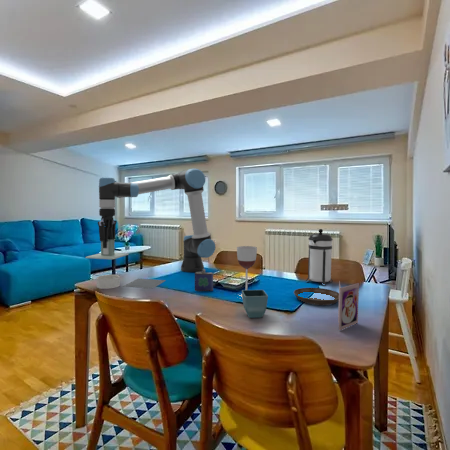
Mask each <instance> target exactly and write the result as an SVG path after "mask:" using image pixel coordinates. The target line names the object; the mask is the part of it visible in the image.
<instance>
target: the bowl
mask: <svg viewBox="0 0 450 450" xmlns="http://www.w3.org/2000/svg"><path fill="white" fill-rule="evenodd" d="M120 279H121V277H120V275H118V274H105V275H99V276H96V288H97V289H100V290H101V289H102V290H103V289H104V290H107V289H109V290H111V289H116V288H118V287H120V286H121V280H120Z"/></svg>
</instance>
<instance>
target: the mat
mask: <svg viewBox="0 0 450 450" xmlns="http://www.w3.org/2000/svg"><path fill="white" fill-rule="evenodd" d="M166 281H167V280H166V279H151V278H149V279H148V278H137V279H134V280H133V281H131V282H129V283H126V284H124V285H123V286H122V287H126V288H142V289H155V288H156V287H157V286H160V285H161V284H163V283H164V282H166Z"/></svg>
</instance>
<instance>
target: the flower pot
mask: <svg viewBox="0 0 450 450" xmlns="http://www.w3.org/2000/svg"><path fill="white" fill-rule="evenodd" d="M241 294H242V299H241V300H242V304H243V308H244V310H245V313H246V315H247V317H248V318H250V319H251V318H253V319H254V318H263V316H264V315H265V313H266V311H267V305H268V298H269V295H268V294H267V292H266V291H265V290H264V289H247V290H245V289H242V290H241Z"/></svg>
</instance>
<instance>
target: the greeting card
mask: <svg viewBox="0 0 450 450" xmlns="http://www.w3.org/2000/svg"><path fill="white" fill-rule="evenodd" d="M338 281H339V282H338V293H339V301H338V308H337V310H338V311H337V312H338V313H337V315H338V316H337V322H338V323H339V324H338V330H342V329H344V328H346V327H349V326H351V325H354V324H356V323H359V296H360V294H359V293H360V292H359V291H360V283H359V282H357V283H354V284H350V285H346V286H342V287H341V281H340V280H338ZM356 325H357V324H356ZM354 326H355V325H354ZM351 327H352V326H351ZM349 328H350V327H349ZM346 329H347V328H346ZM344 330H345V329H344ZM342 331H343V330H342Z"/></svg>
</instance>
